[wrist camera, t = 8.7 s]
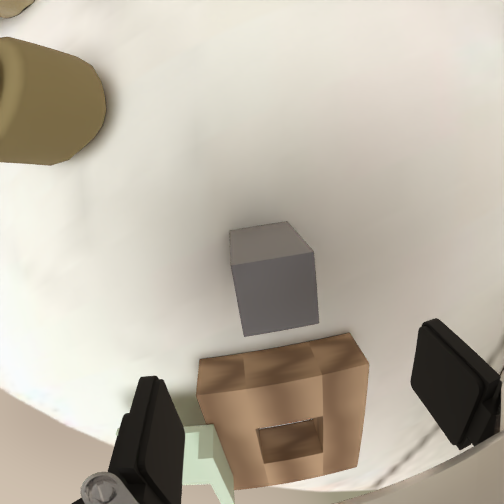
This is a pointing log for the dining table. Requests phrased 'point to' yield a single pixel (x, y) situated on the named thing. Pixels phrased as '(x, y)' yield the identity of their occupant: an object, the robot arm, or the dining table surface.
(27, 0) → the flower pot
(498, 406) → the robot arm
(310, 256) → the plug
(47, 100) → the squeeze bottle
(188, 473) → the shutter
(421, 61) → the dining table surface
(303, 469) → the socket
